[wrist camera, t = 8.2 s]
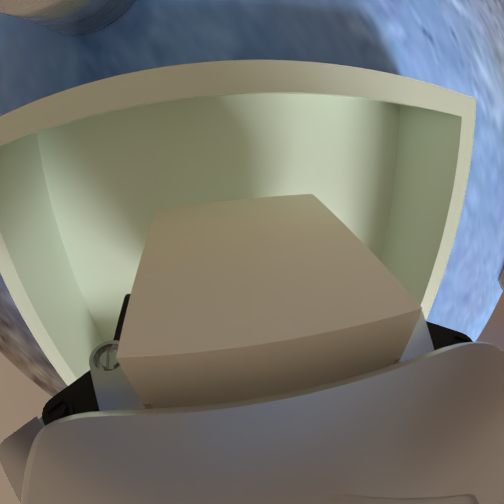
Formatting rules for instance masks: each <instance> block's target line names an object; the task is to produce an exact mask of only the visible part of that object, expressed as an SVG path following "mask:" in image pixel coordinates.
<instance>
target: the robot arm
mask: <svg viewBox="0 0 504 504" xmlns="http://www.w3.org/2000/svg"><path fill="white" fill-rule="evenodd" d="M130 295H131V294H126V295H125V297H124V300H123V304H122V308H121V311H120V315H119V319H118V323H117V327H116V331H115V335H114V339H113V340H111V341H106V342H104V343H101V344H99V345H98V346H97V347H96V348H95V349H94V350H93V351H92V353H91V355H90V357H89V366H90V370H89V371H88V372H86V373H85V374H84V375H82V376H81V377H80V378H78V379H77V380H76V381H74V382H73V383H72V384H70V385H69V386H67V387H66V388H65V389H63V390H62V391H61V392H59V393H58V394H57V395H55V396H54V397H53V398H51V399H50V400H49V401H48V402H47V403H46V405H45V407H44V408H43V412H42V417H41V418H40V419H39V418H38V417H35V418H33V419H32V420H31V421H29V422H28V423H27V424H25V425H24V426H22V427H21V428H20V429H18V430H17V431H16V432H14V433H13V434H12V435H10V436H9V437H7V438H6V439H5V440H4V441H3V442H2V443H1V444H0V462H1V464H2V466H3V469H4V471H5V473H6V475H7V477H8V479H9V481H10V483H11V485H12V487H13V489H14V491H15V493H16V495H17V497H18V499H19V500H20V502H21V504H504V352H503V351H502V350H500V348H498V347H497V346H495V345H493V344H490V343H486V342H473V341H472V340H471V339H470V338H469V337H468V336H467V335H465V334H463V333H460V332H457V331H454V330H451V329H448V328H445V327H442V326H439V325H436V324H433V323H430V322H427V321H426V320H425V317H424V314H423V312H422V311H421V313H420V316H419V318H418V321H417V323H416V325H415V328H414V330H413V332H412V335H411V337H410V339H409V342H408V344H407V346H406V348H405V350H404V352H403V355H402V357H401V358H399V359H396V360H395V361H394V363H393V365H391V366H388V367H385V368H382V369H379V370H375V371H372V372H369V373H365V374H362V375H359V376H355V377H352V378H348V379H344V380H340V381H337V382H333V383H329V384H325V385H321V386H316V387H312V388H308V389H303V390H298V391H294V392H289V393H284V394H278V395H273V396H267V397H261V398H255V399H249V400H242V401H235V402H228V403H219V404H210V405H200V406H189V407H175V408H158V409H153V407H152V405H151V404H143V403H142V402H141V400H140V399H139V397H138V395H137V394H136V392H135V390H134V389H133V387H132V385H131V384H130V382H129V380H128V378H127V377H126V375H125V373H124V371H123V370H122V368H121V366H120V364H119V362H118V360H117V359H116V356H117V351H118V346H119V341H120V336H121V332H122V328H123V323H124V319H125V315H126V311H127V307H128V303H129V299H130Z"/></svg>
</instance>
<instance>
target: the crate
mask: <svg viewBox="0 0 504 504" xmlns="http://www.w3.org/2000/svg"><path fill="white" fill-rule="evenodd" d="M475 113H476V99H475V98H473V97H470V96H467V95H465V94H462V93H459V92H456V91H453V90H450V89H447V88H444V87H441V86H437V85H434V84H431V83H427V82H424V81H420V80H416V79H412V78H408V77H404V76H400V75H396V74H391V73H386V72H381V71H376V70H371V69H365V68H359V67H352V66H345V65H337V64H329V63H319V62H307V61H291V60H227V61H211V62H199V63H189V64H180V65H173V66H166V67H159V68H153V69H147V70H142V71H136V72H131V73H127V74H122V75H117V76H113V77H109V78H105V79H101V80H97V81H94V82H90V83H86V84H83V85H80V86H76V87H73V88H70V89H67V90H64V91H61V92H58V93H55V94H52V95H49V96H47V97H44V98H41V99H39V100H36V101H34V102H31V103H29V104H26V105H24V106H21V107H19V108H17V109H15V110H12V111H10V112H8V113H6V114H4V115H2V116H0V273H1V275H2V277H3V280H4V282H5V284H6V286H7V288H8V290H9V292H10V294H11V296H12V298H13V300H14V302H15V304H16V306H17V308H18V310H19V312H20V313H21V315H22V317H23V319H24V321H25V322H26V324H27V326H28V327H29V329H30V331H31V333H32V334H33V336H34V337H35V339H36V341H37V342H38V344H39V345H40V347H41V349H42V350H43V352H44V353H45V355H46V356H47V358H48V359H49V361H50V362H51V364H52V365H53V366H54V368H55V369H56V371H57V372H58V373H59V375H60V376H61V377H62V379H63V380H64V382H65V383H66V384H67V385H68V386H69V385H70V384H72V383H73V382H74V381H76V380H77V379H78V378H80V377H81V376H82V375H84V374H85V373H86V372H88V371H89V370H90V366H89V357H90V355H91V353H92V351H93V350H94V349H95V348H96V347H97V346H98V345H99V344H101V343H104V342H106V341H111V340H113V339H114V335H115V331H116V327H117V323H118V319H119V315H120V311H121V308H122V304H123V300H124V297H125V295H126V294H131V291H132V287H133V284H134V280H135V276H136V273H137V269H138V266H139V263H140V259H141V256H142V253H143V249H144V246H145V243H146V240H147V237H148V233H149V230H150V227H151V224H152V221H153V218H154V215H155V213H156V210H157V209H160V208H168V207H175V206H184V205H192V204H201V203H209V202H219V201H229V200H239V199H249V198H261V197H273V196H286V195H300V194H313V195H314V196H315V197H316V198H318V199H319V200H320V201H321V202H322V203H323V204H324V205H325V206H326V207H327V208H328V209H329V210H330V211H331V212H332V213H333V214H334V215H335V216H336V217H337V218H338V219H340V220H341V221H342V222H343V223H344V224H345V225H346V226H347V227H348V228H349V229H350V230H351V231H352V232H353V233H354V234H355V235H356V236H357V237H358V238H359V239H360V240H361V241H362V242H363V243H364V245H365V246H366V247H367V248H368V249H369V250H370V251H371V252H372V253H373V254H374V255H375V256H376V257H377V258H378V259H379V260H380V261H381V262H382V263H383V264H384V266H385V267H386V268H387V269H388V270H389V271H390V272H391V273H392V274H393V275H394V276H395V277H396V279H397V280H398V281H399V282H400V283H401V284H402V285H403V286H404V288H405V289H406V290H407V291H408V292H409V293H410V294H411V295H412V297H413V298H414V299H415V300H416V301H417V302H418V304H419V305H420V306H421V307H422V312H423V314H424V317H425V320H426V319H427V317H428V314H429V312H430V309H431V307H432V304H433V302H434V299H435V297H436V294H437V291H438V289H439V286H440V283H441V280H442V277H443V274H444V271H445V268H446V265H447V262H448V259H449V256H450V253H451V249H452V246H453V242H454V239H455V235H456V231H457V227H458V224H459V219H460V215H461V211H462V207H463V202H464V197H465V192H466V187H467V181H468V176H469V169H470V163H471V156H472V148H473V138H474V128H475Z"/></svg>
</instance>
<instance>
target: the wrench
mask: <svg viewBox="0 0 504 504" xmlns="http://www.w3.org/2000/svg"><path fill="white" fill-rule="evenodd" d="M499 284H500V286H501V288H502V290H503V291H504V268H503V271H502V273H501V276H500V278H499Z"/></svg>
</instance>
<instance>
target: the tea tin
mask: <svg viewBox="0 0 504 504" xmlns="http://www.w3.org/2000/svg"><path fill="white" fill-rule="evenodd" d="M135 1H136V0H0V13H4V14H7V15H11V16H14V17H18V18H21V19H24V20H27V21H30V22H33V23H36V24H39V25H42V26H45V27H48V28H51V29H53V30H56V31H59V32H61V33H64V34H68V35H83V34H88V33H92V32H95V31H97V30H100V29H102V28H104V27H106V26H108V25H109V24H111V23H113V22H114V21H115V20H117V19H118V18H119V17H121V16H122V15H123V14H124V13H125V12H126V11H127V10H128V9H129V8H130V7H131V6H132V5H133V3H134V2H135Z"/></svg>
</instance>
